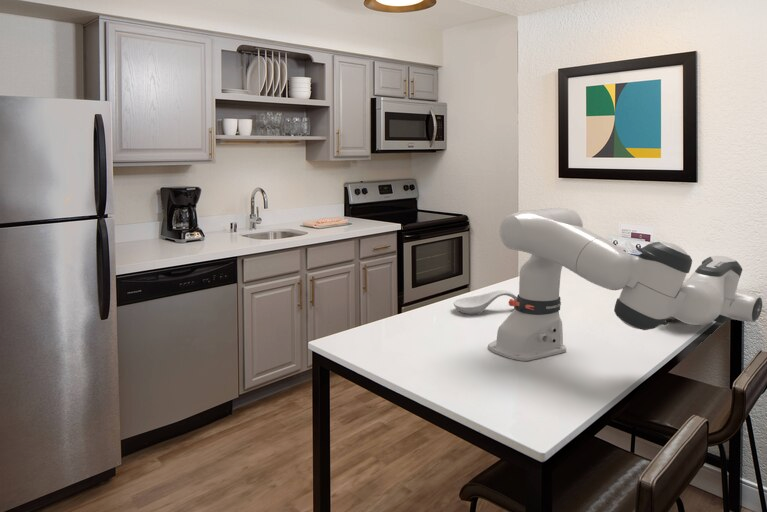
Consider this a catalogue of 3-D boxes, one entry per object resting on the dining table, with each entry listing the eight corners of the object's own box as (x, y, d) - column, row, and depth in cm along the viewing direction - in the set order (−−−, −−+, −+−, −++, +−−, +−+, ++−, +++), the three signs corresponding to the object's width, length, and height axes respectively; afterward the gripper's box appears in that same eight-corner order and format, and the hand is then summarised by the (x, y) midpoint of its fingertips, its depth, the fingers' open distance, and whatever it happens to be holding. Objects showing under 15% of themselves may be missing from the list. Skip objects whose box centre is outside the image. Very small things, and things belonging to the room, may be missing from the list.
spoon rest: (457, 318, 185) (458, 297, 184) (450, 308, 197) (450, 289, 195) (526, 315, 187) (526, 294, 186) (514, 305, 199) (515, 286, 197)
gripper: (681, 312, 165) (641, 301, 177) (723, 302, 174) (682, 292, 186) (683, 291, 163) (642, 282, 176) (725, 283, 173) (683, 274, 185)
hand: (663, 287), depth 181 cm, fingers closed on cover, 5 cm apart
